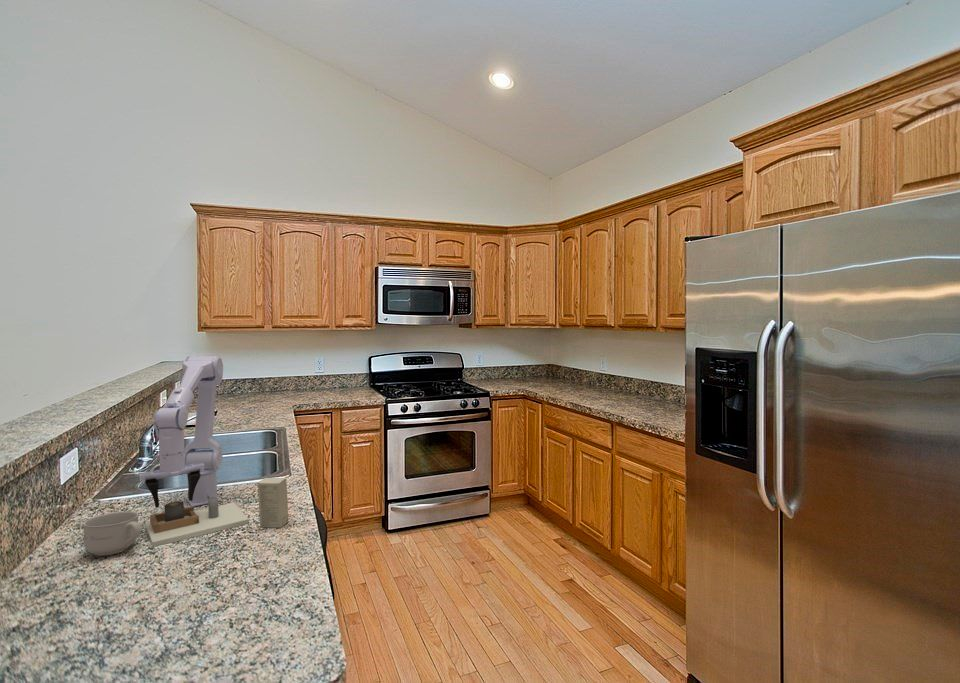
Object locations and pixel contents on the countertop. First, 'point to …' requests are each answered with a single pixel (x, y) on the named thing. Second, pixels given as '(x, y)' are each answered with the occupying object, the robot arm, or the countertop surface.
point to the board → (195, 522)
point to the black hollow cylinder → (174, 511)
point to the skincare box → (273, 502)
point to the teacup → (111, 532)
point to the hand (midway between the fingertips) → (174, 503)
